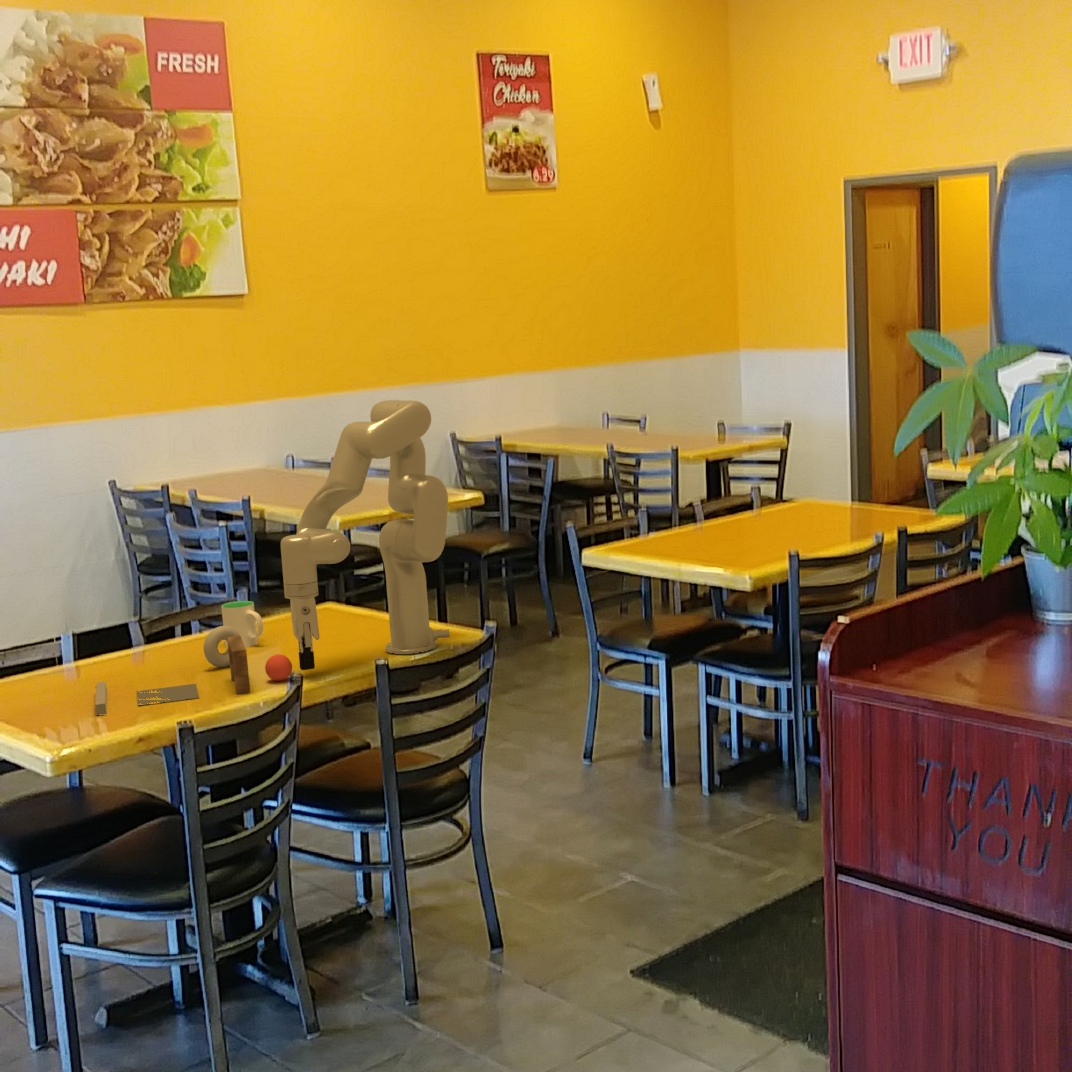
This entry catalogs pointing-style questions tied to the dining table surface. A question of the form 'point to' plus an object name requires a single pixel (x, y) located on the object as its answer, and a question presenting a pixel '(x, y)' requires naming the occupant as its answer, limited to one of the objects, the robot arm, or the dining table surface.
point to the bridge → (238, 664)
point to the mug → (243, 621)
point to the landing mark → (169, 694)
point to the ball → (278, 667)
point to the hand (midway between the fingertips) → (307, 668)
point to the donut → (213, 642)
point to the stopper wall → (101, 698)
